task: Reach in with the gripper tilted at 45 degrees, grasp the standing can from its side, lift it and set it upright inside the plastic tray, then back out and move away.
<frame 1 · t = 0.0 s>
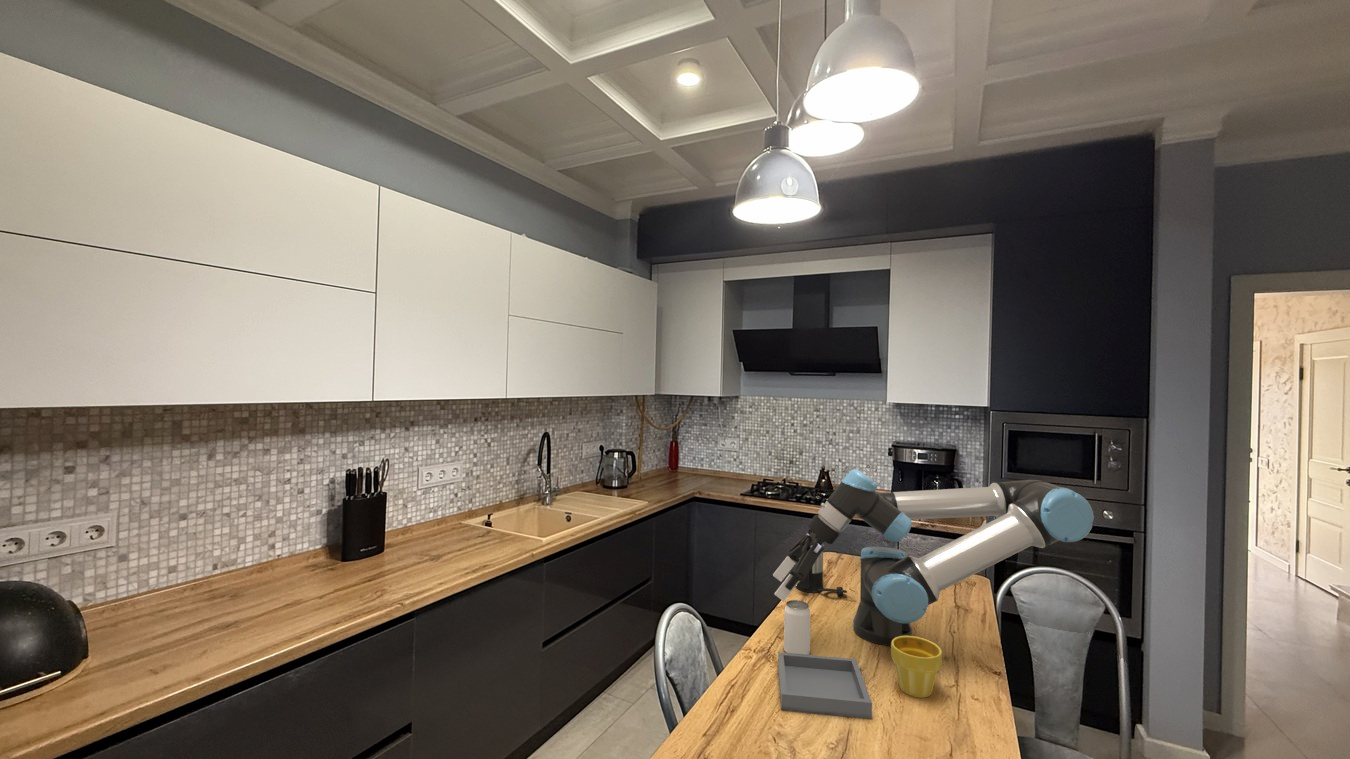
hand: (777, 587, 141), 15 cm above the table, tool tilted 35°, fingers open, 13 cm apart
tray: (820, 690, 121), on the table
milk frother: (820, 592, 179), on the table
plant pot: (915, 690, 122), on the table
can: (796, 652, 138), on the table
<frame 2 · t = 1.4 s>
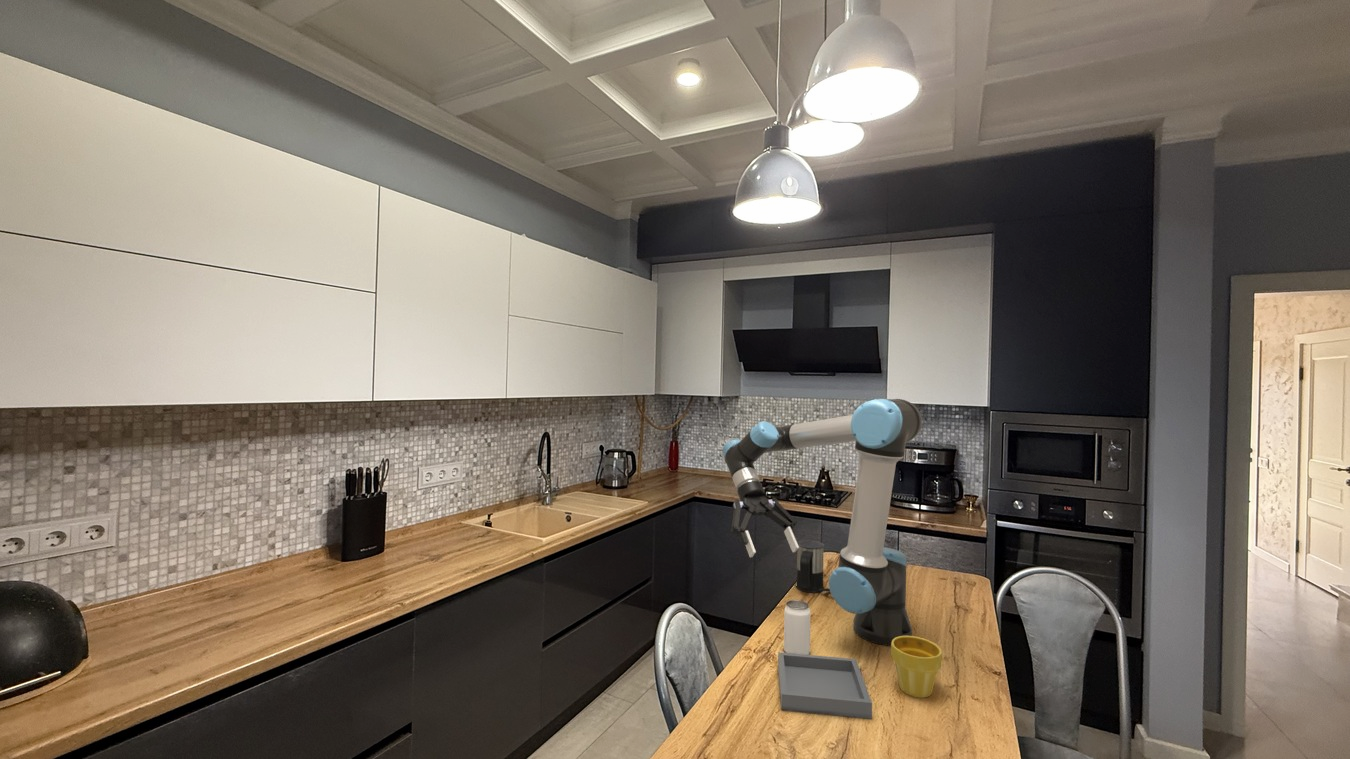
hand: (774, 552, 148), 22 cm above the table, tool tilted 45°, fingers open, 13 cm apart
nothing on the table moved.
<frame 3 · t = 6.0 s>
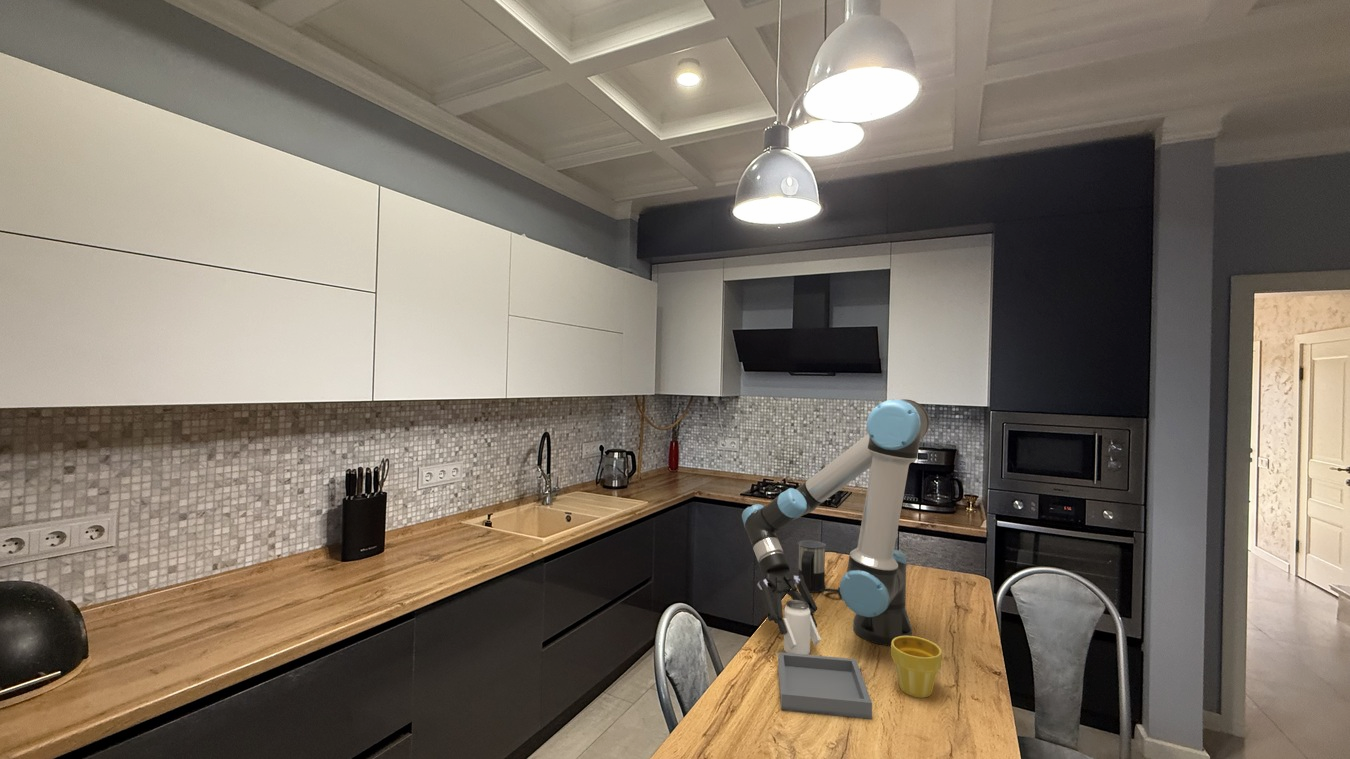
hand: (805, 644, 135), 3 cm above the table, tool tilted 45°, fingers closed on can, 6 cm apart
can: (796, 652, 138), on the table, touching gripper
everything else where it was.
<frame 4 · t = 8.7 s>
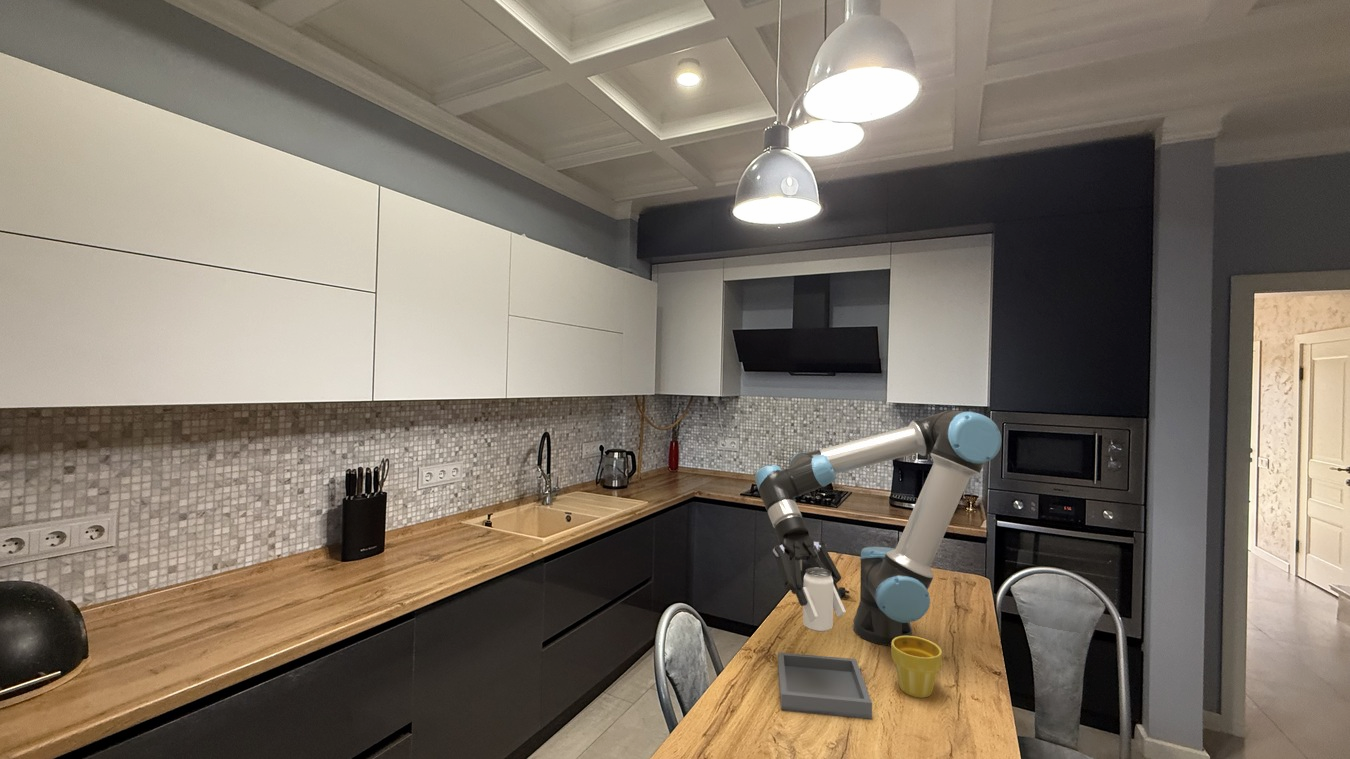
hand: (827, 616, 118), 17 cm above the table, tool tilted 45°, fingers closed on can, 6 cm apart
can: (817, 626, 122), point 14 cm above the table, touching gripper
everything else where it was.
when the fingers open (6 cm above the table, at t = 11.7 s): can drops 1 cm, resting on tray.
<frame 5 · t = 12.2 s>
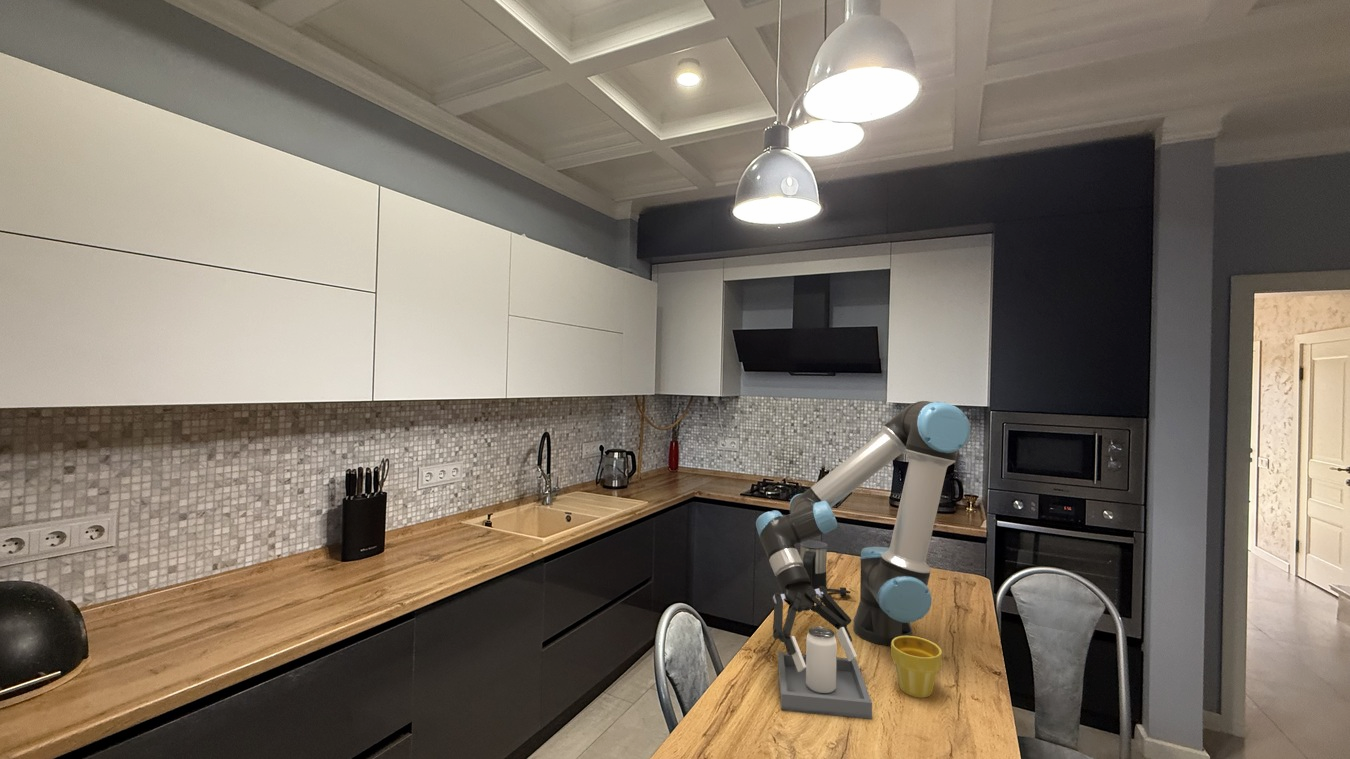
hand: (828, 664, 118), 7 cm above the table, tool tilted 45°, fingers open, 13 cm apart
can: (820, 687, 121), point 1 cm above the table, touching tray
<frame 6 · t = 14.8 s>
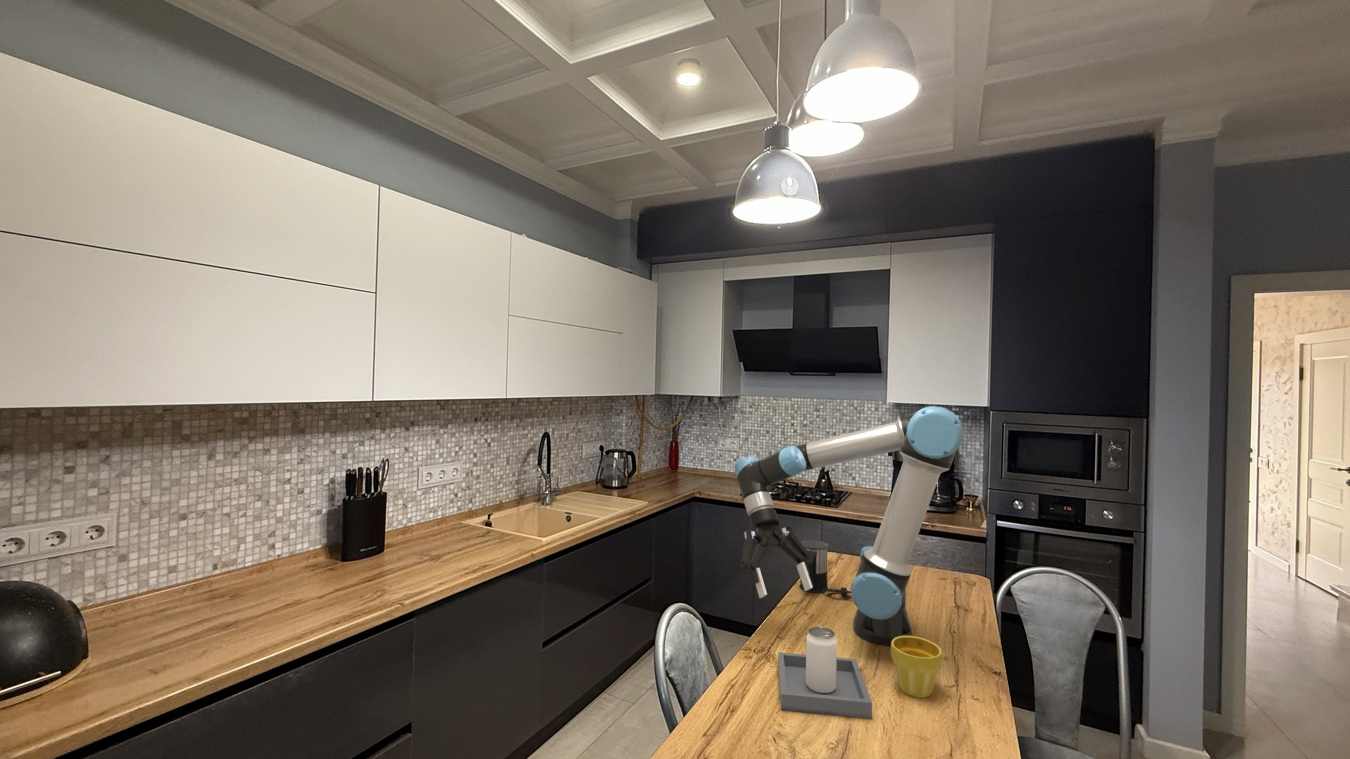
hand: (786, 593, 136), 16 cm above the table, tool tilted 35°, fingers open, 13 cm apart
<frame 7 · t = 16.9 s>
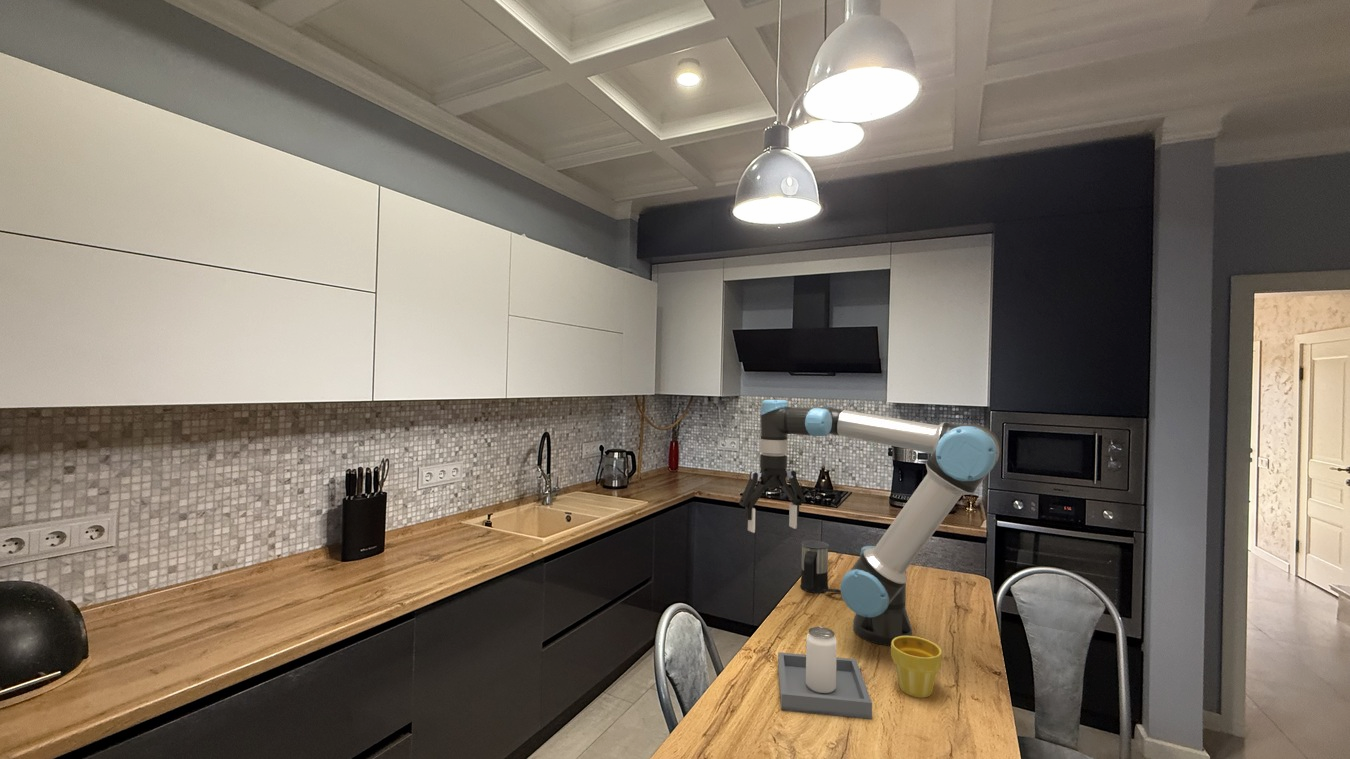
hand: (772, 529, 154), 27 cm above the table, tool pointing down, fingers open, 13 cm apart
at the end: can inside the target area on the tray (0.1 cm from its centre), point 0.6 cm above the tray's base; can tilted 0°; the gripper is holding nothing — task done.
